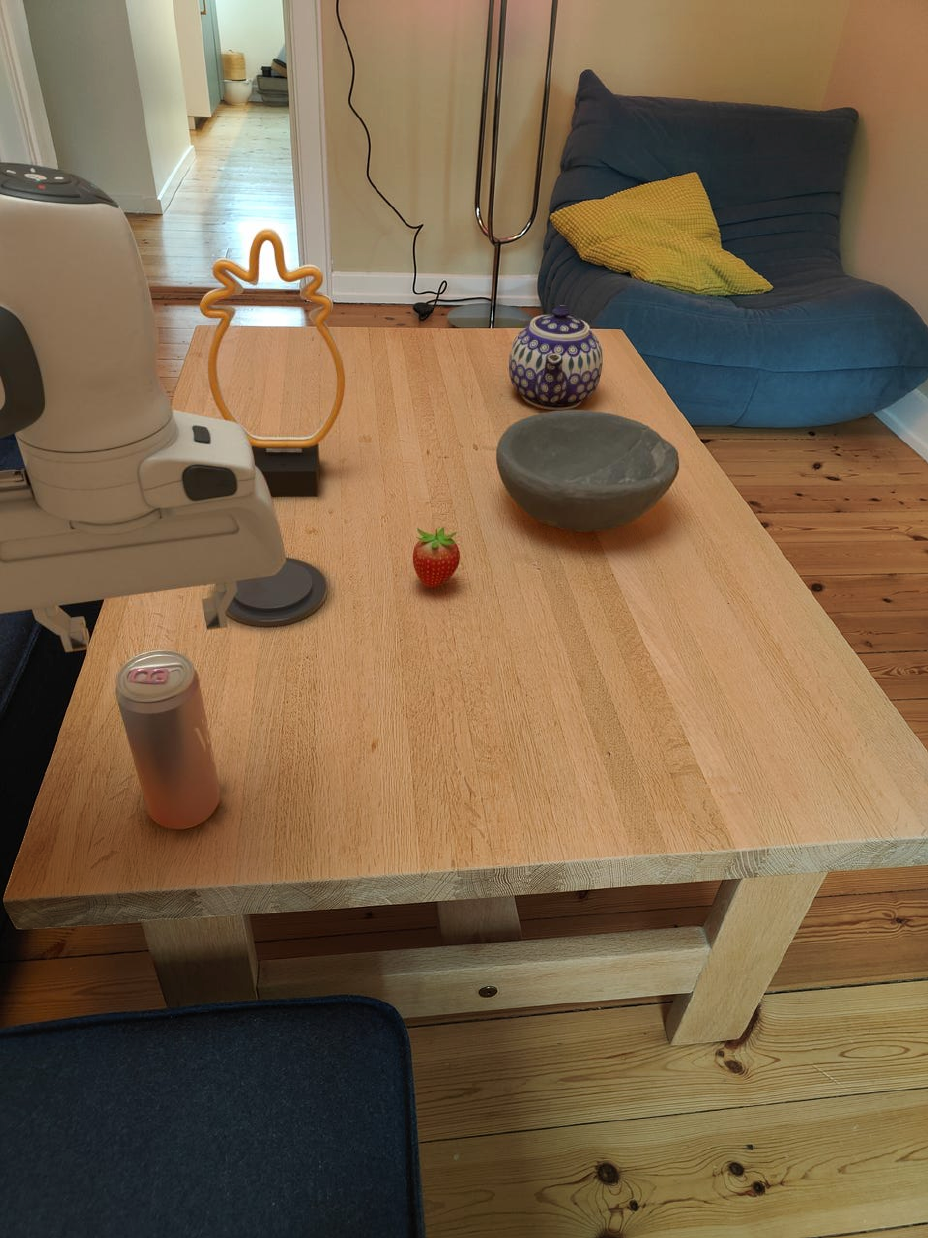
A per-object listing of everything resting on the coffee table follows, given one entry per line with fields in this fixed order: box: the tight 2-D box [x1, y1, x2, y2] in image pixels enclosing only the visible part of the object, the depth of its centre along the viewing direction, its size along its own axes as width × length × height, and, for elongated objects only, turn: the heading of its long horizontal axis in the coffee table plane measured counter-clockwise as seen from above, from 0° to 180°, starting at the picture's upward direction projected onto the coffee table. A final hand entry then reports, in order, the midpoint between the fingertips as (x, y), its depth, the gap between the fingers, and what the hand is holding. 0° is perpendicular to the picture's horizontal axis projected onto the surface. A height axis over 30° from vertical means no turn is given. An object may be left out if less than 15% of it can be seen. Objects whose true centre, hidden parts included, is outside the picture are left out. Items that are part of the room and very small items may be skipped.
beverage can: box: [114, 649, 221, 830], centre depth 68 cm, size 6×6×15 cm
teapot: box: [508, 304, 604, 411], centre depth 137 cm, size 25×15×15 cm, turn 169°
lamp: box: [199, 228, 346, 497], centre depth 106 cm, size 17×9×32 cm, turn 96°
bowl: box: [495, 409, 680, 533], centre depth 110 cm, size 23×22×10 cm
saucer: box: [225, 557, 328, 628], centre depth 96 cm, size 12×12×1 cm
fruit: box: [412, 526, 461, 589], centre depth 96 cm, size 5×5×8 cm
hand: (148, 634), depth 61 cm, fingers open, 8 cm apart
